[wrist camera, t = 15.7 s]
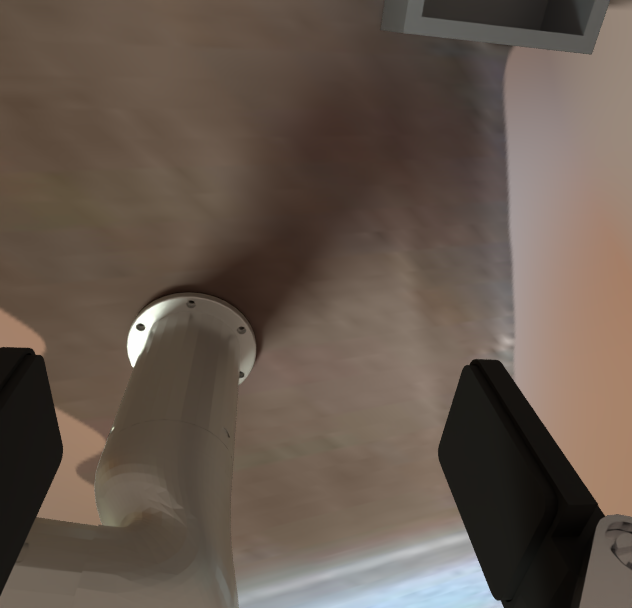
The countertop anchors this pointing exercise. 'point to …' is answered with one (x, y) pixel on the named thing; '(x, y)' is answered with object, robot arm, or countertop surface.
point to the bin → (502, 21)
